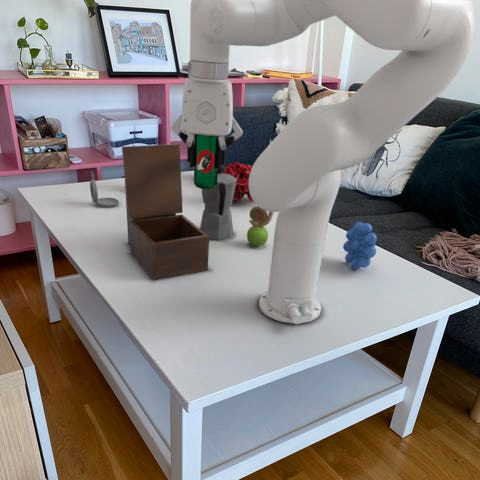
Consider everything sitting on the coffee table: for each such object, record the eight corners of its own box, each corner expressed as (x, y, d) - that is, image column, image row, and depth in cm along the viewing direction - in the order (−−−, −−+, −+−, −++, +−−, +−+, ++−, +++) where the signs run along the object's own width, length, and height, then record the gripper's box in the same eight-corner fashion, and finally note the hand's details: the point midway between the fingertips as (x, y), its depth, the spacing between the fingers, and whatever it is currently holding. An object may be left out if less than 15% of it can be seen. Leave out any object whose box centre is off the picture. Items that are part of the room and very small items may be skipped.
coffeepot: (196, 224, 136) (198, 158, 126) (229, 225, 137) (233, 159, 128) (202, 247, 123) (204, 175, 113) (238, 246, 124) (243, 176, 115)
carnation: (202, 200, 178) (260, 226, 154) (167, 170, 165) (224, 193, 141) (226, 164, 178) (288, 185, 153) (192, 131, 165) (254, 148, 140)
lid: (179, 144, 111) (170, 142, 115) (122, 147, 105) (115, 144, 109) (182, 212, 117) (174, 208, 122) (129, 218, 111) (122, 214, 116)
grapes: (383, 277, 115) (395, 229, 108) (358, 280, 113) (369, 231, 106) (357, 257, 124) (367, 212, 118) (334, 259, 122) (343, 213, 116)
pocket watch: (123, 204, 146) (121, 170, 141) (102, 211, 140) (99, 176, 134) (103, 198, 149) (101, 165, 144) (82, 204, 143) (78, 170, 138)
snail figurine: (269, 251, 123) (274, 205, 117) (244, 247, 124) (248, 201, 118) (272, 243, 128) (277, 198, 122) (248, 240, 129) (252, 195, 122)
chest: (208, 270, 112) (209, 236, 107) (153, 280, 106) (152, 244, 101) (181, 246, 122) (182, 214, 118) (130, 254, 116) (128, 220, 112)
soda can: (221, 188, 106) (224, 130, 100) (202, 191, 103) (204, 131, 97) (208, 182, 109) (210, 125, 103) (189, 184, 106) (190, 126, 100)
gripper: (161, 69, 91) (163, 167, 101) (252, 77, 91) (245, 174, 101) (168, 66, 98) (169, 159, 107) (253, 73, 98) (246, 165, 107)
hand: (206, 165), depth 104 cm, fingers closed on soda can, 5 cm apart
